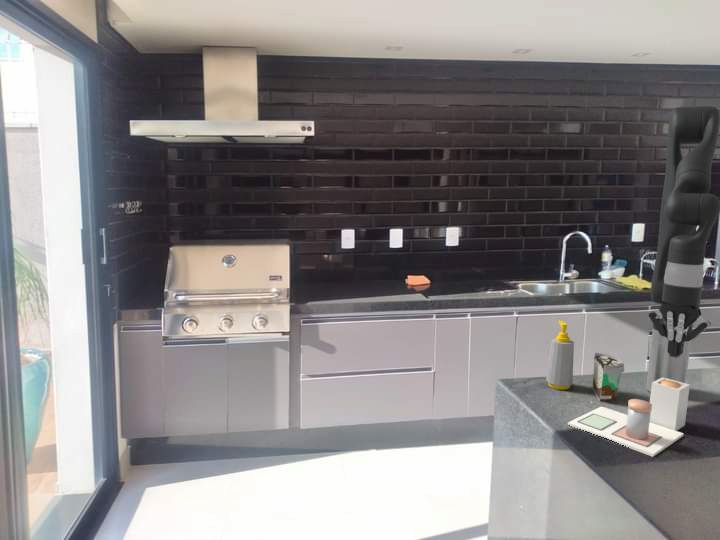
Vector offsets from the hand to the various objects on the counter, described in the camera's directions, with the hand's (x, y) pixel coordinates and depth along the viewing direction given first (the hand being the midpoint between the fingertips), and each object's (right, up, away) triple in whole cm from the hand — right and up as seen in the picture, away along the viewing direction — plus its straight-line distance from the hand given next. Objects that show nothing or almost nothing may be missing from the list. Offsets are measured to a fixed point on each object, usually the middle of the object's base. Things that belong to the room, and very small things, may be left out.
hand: (674, 356), depth 129 cm
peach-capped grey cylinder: (-11, -17, -6) cm, 21 cm away
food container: (-7, -14, +20) cm, 25 cm away
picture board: (-12, -17, -1) cm, 21 cm away
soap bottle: (-17, -12, +26) cm, 34 cm away
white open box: (-1, -16, +3) cm, 17 cm away
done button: (0, -9, +1) cm, 9 cm away
